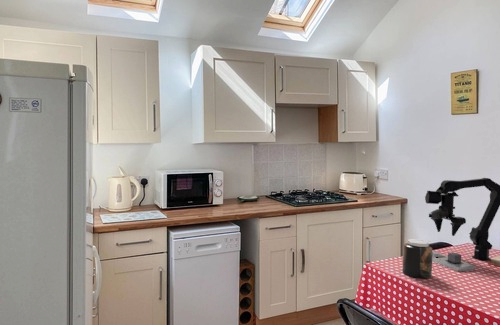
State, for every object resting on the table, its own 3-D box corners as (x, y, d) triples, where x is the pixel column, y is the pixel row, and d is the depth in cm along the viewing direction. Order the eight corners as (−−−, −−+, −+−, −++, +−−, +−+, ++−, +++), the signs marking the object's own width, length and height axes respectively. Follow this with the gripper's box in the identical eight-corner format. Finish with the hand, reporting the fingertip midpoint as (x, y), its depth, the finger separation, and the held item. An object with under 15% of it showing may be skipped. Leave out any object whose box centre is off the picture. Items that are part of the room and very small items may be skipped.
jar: (402, 276, 157) (404, 242, 156) (402, 268, 168) (403, 236, 167) (432, 280, 153) (434, 246, 152) (430, 272, 163) (431, 239, 163)
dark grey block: (453, 264, 176) (454, 252, 176) (460, 267, 172) (461, 254, 172) (447, 265, 175) (448, 253, 174) (454, 267, 171) (455, 255, 170)
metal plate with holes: (434, 255, 191) (434, 251, 191) (474, 269, 168) (475, 265, 168) (419, 256, 188) (419, 252, 188) (458, 271, 165) (458, 267, 165)
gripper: (421, 202, 195) (420, 230, 195) (450, 207, 177) (448, 239, 177) (437, 201, 198) (436, 229, 199) (467, 207, 180) (465, 237, 181)
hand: (445, 233), depth 189 cm, fingers open, 9 cm apart
